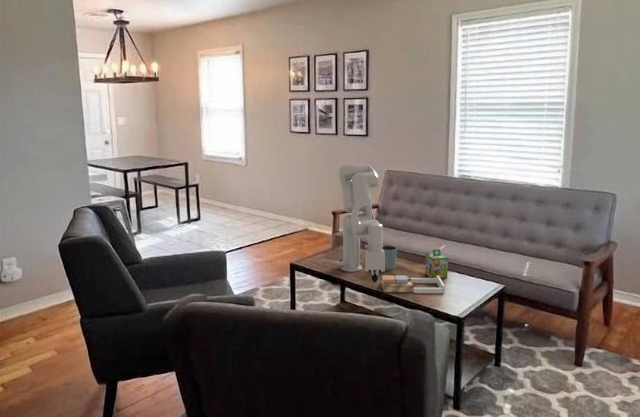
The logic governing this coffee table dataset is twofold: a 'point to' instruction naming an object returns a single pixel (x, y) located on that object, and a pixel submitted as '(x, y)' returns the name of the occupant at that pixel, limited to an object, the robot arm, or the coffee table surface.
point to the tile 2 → (401, 279)
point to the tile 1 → (388, 279)
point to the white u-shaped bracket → (429, 280)
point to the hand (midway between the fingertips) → (374, 281)
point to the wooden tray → (399, 287)
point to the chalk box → (436, 265)
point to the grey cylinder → (390, 256)
